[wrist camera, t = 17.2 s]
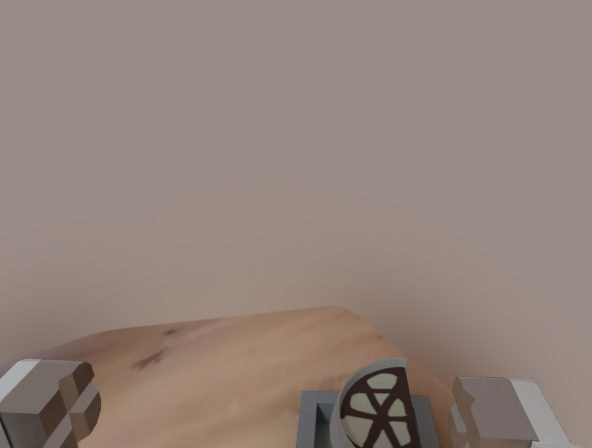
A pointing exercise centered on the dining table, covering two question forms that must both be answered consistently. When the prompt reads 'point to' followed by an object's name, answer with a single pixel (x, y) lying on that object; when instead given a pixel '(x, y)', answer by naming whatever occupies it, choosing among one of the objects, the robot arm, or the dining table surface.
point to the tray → (318, 413)
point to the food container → (375, 409)
